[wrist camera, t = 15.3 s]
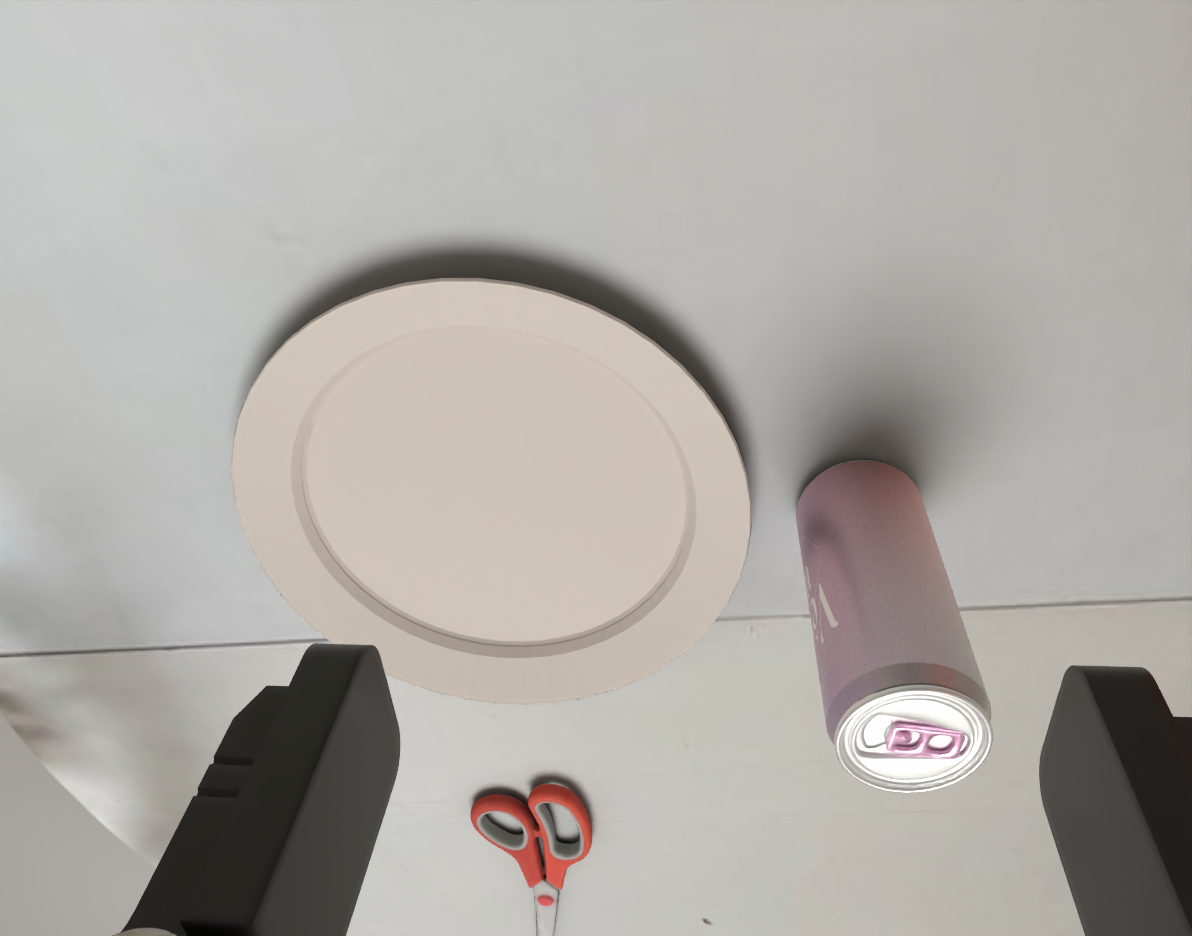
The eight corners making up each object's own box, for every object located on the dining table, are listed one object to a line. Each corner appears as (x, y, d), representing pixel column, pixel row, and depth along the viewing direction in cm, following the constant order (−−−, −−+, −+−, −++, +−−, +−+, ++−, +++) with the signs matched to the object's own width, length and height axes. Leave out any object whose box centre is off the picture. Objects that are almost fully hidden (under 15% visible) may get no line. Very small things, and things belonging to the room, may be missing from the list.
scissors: (537, 964, 74) (535, 984, 72) (462, 782, 63) (457, 801, 61) (638, 961, 72) (637, 980, 71) (579, 774, 61) (576, 794, 60)
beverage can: (901, 557, 50) (971, 805, 37) (784, 544, 50) (814, 787, 37) (933, 460, 46) (1021, 697, 34) (808, 446, 47) (850, 676, 34)
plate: (458, 733, 60) (452, 759, 58) (141, 428, 49) (122, 450, 48) (840, 568, 50) (845, 594, 49) (551, 147, 40) (544, 161, 38)
